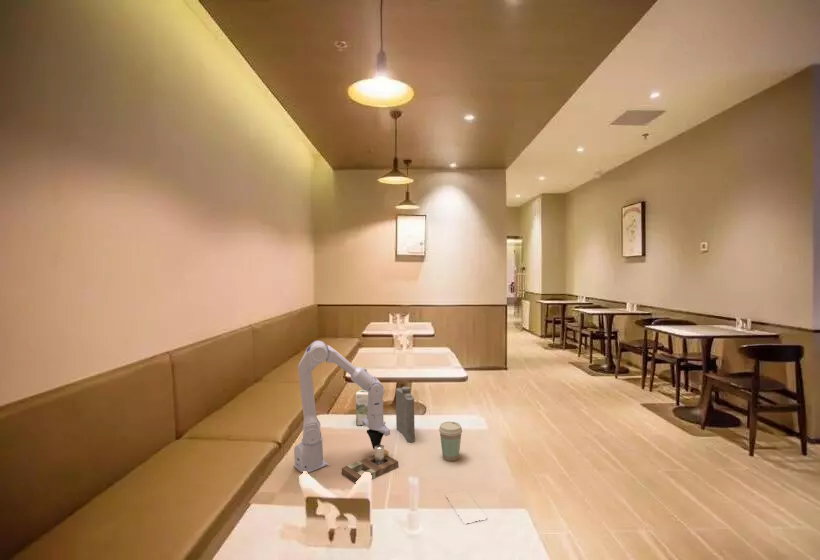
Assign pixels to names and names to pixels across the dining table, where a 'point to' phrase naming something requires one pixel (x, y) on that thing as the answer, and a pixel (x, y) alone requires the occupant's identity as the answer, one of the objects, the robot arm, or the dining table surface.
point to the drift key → (385, 453)
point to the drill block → (369, 467)
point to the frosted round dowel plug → (379, 454)
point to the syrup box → (361, 406)
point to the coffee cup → (450, 440)
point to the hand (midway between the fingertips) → (376, 448)
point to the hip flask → (405, 413)
